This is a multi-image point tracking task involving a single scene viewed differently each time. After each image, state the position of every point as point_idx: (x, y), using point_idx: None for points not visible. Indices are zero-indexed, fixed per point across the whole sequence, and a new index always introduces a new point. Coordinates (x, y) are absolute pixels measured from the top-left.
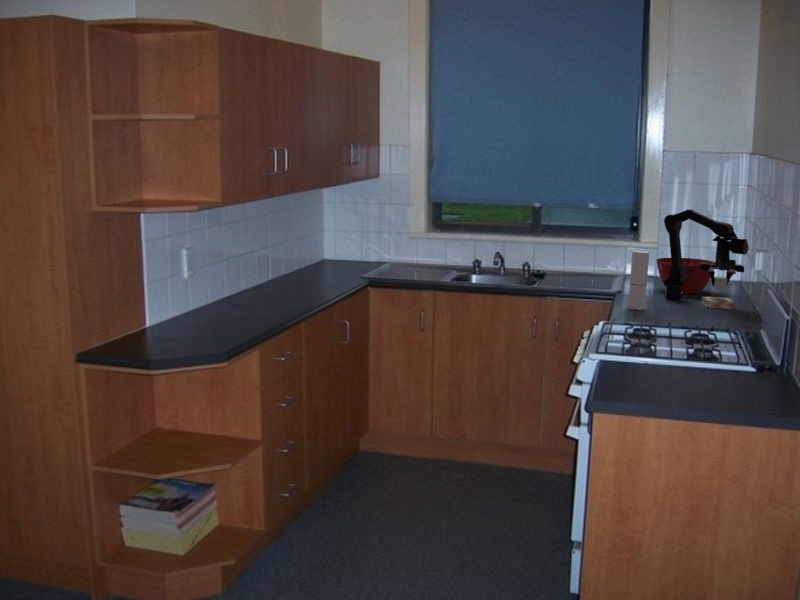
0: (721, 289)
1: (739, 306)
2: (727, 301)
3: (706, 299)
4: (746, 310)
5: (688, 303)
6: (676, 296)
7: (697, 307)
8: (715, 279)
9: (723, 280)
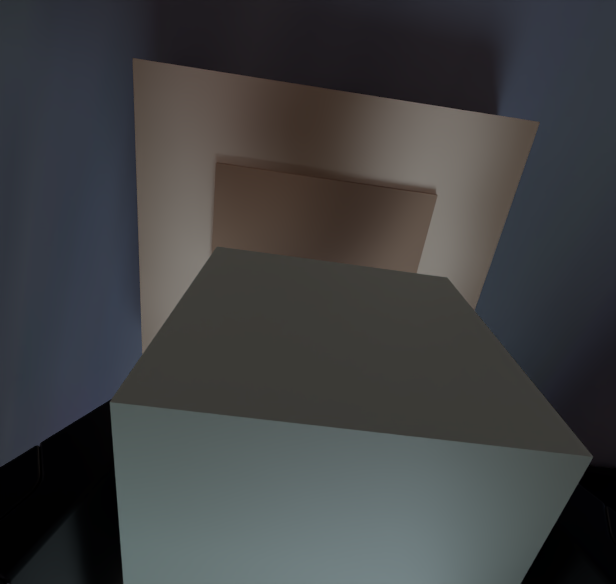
0: (312, 259)
1: (72, 273)
2: (228, 152)
3: (476, 258)
4: (19, 10)
5: (563, 346)
6: (602, 501)
7: (603, 127)
8: (551, 437)
9: (275, 371)
